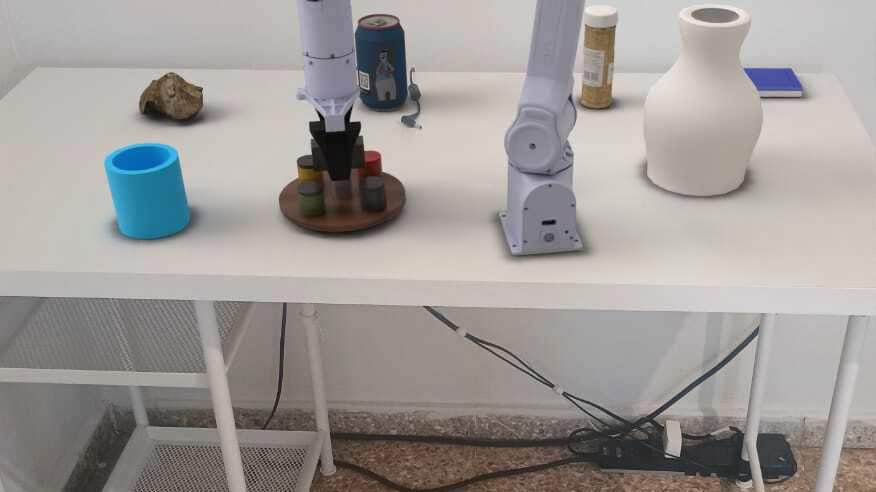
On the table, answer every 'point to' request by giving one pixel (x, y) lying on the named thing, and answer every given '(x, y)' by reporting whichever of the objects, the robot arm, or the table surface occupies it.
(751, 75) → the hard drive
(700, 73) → the vase
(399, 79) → the soda can
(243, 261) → the table surface
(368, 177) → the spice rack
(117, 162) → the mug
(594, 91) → the sprinkles bottle
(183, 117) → the fossilized seashell
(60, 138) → the table surface
